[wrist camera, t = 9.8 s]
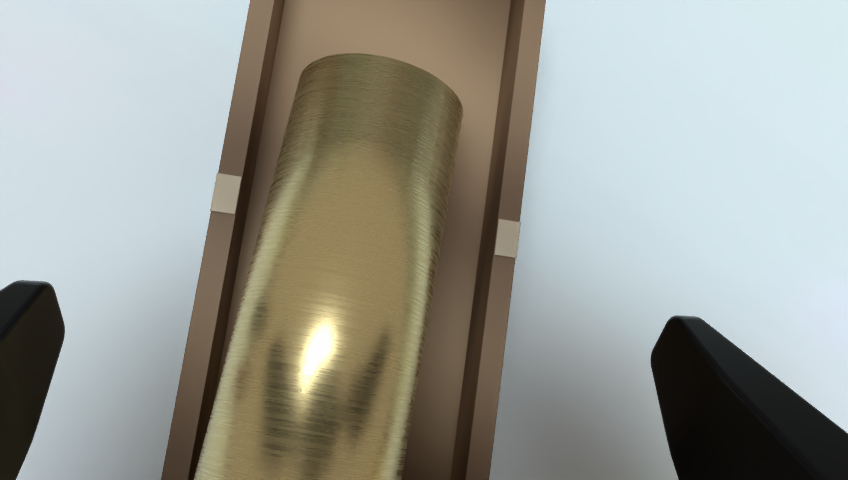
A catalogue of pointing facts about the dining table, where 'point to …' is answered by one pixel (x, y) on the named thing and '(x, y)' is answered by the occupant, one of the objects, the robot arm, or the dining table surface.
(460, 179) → the brown wooden tray
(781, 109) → the dining table surface
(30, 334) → the robot arm
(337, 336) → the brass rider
